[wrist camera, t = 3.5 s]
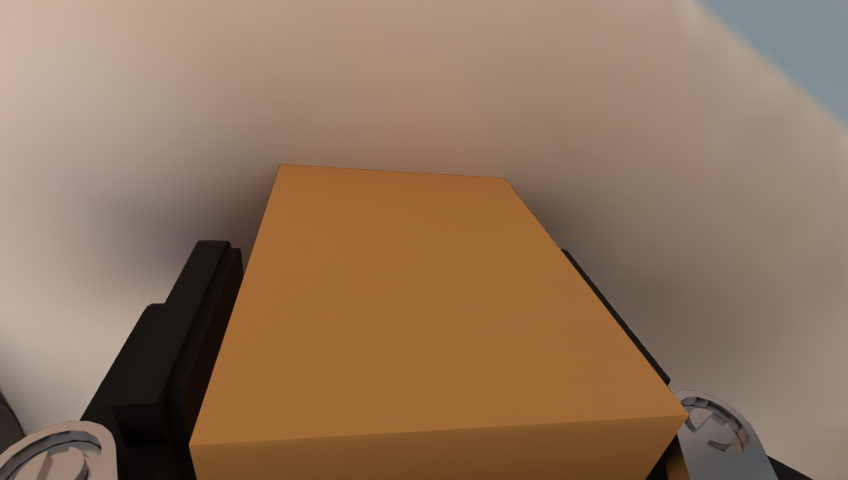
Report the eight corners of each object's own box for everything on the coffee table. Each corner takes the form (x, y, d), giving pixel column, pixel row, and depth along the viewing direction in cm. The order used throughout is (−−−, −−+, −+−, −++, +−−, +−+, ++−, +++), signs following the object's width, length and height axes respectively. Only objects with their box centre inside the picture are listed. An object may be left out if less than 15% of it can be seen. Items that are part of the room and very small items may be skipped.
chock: (503, 176, 10) (689, 415, 5) (448, 401, 14) (514, 668, 9) (280, 162, 9) (187, 445, 4) (290, 408, 13) (253, 716, 8)
